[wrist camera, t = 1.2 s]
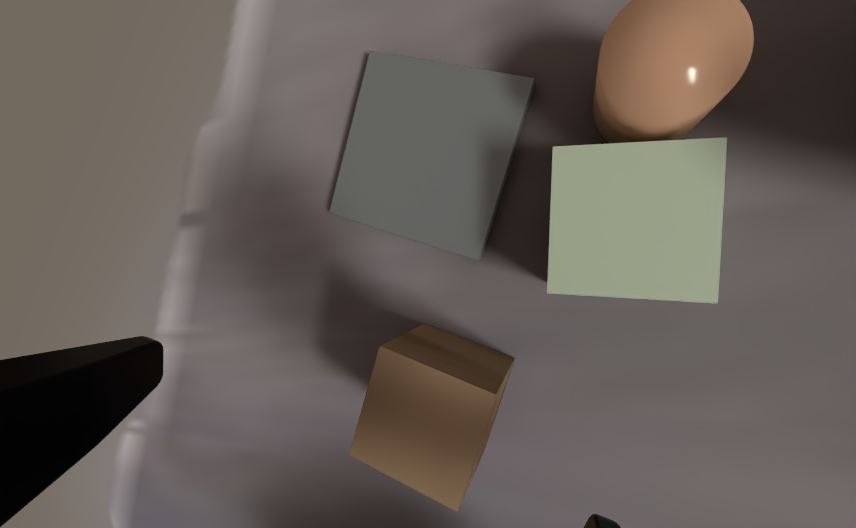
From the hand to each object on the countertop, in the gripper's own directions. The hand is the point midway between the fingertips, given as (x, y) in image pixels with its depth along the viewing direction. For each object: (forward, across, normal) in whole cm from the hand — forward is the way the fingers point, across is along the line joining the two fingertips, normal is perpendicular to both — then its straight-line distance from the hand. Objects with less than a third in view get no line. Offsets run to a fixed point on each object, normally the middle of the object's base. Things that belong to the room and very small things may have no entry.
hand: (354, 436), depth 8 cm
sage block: (+12, -6, -4) cm, 14 cm away
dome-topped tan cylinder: (+13, -5, -8) cm, 16 cm away
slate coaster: (+13, +3, -4) cm, 14 cm away
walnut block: (+11, -1, +5) cm, 12 cm away
